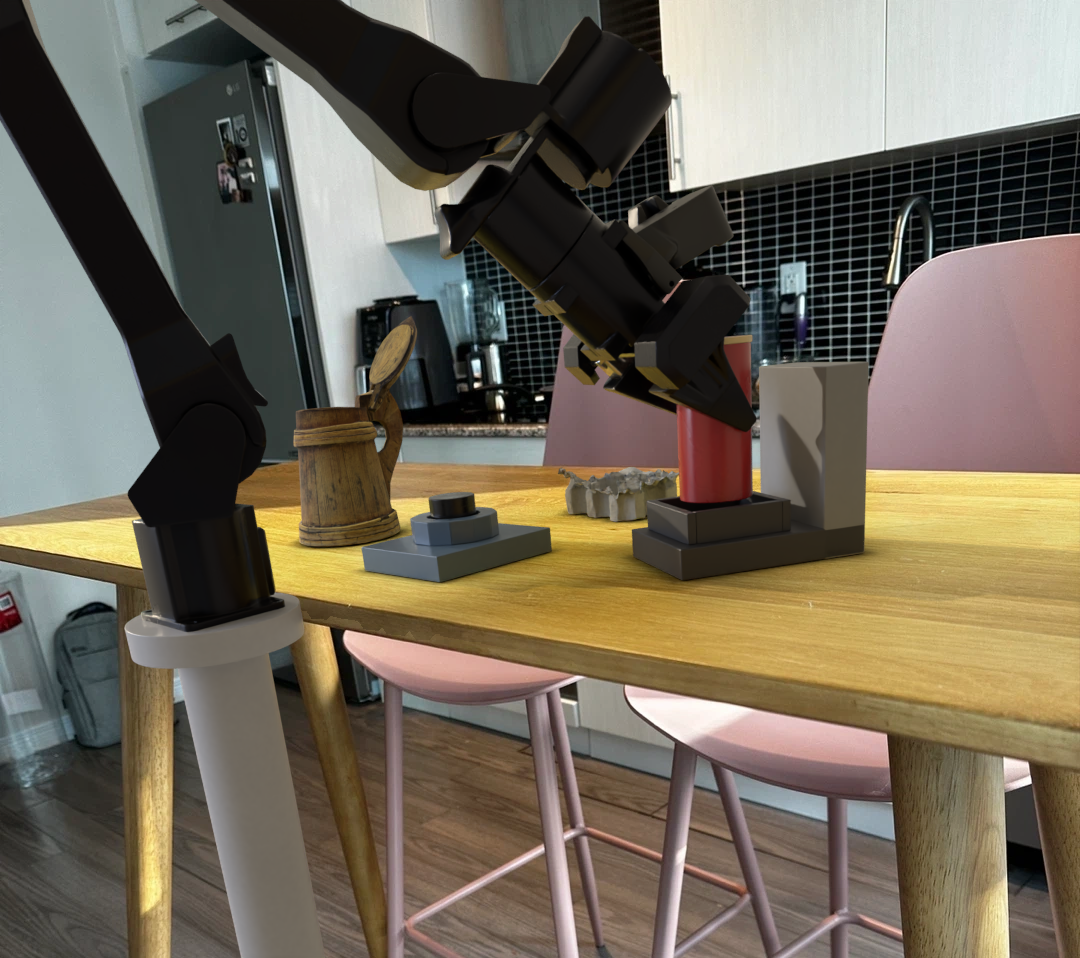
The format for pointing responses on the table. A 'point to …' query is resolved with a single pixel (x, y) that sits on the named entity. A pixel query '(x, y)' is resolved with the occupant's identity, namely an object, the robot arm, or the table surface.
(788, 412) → the coffee maker
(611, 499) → the egg carton
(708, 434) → the red cylinder
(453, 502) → the button
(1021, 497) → the table surface
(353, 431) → the wooden mug
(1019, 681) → the table surface
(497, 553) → the control pad
